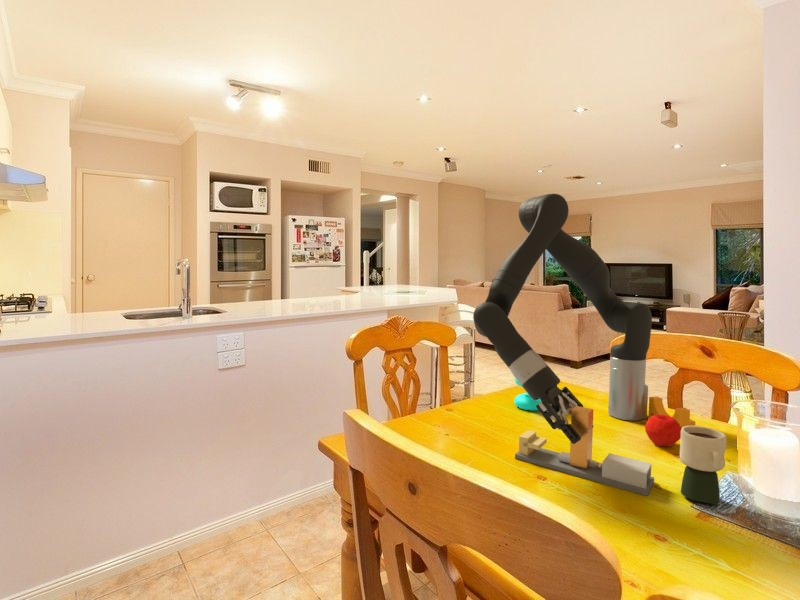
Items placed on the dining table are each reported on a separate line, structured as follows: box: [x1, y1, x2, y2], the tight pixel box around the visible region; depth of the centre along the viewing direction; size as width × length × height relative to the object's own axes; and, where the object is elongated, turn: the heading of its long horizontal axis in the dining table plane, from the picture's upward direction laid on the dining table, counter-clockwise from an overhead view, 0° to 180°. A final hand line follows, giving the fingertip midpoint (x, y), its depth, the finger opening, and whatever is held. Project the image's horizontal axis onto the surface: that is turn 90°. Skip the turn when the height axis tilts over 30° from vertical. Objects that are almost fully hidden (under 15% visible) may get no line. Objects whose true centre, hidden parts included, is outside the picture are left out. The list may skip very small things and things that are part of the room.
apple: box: [644, 415, 682, 447], centre depth 111 cm, size 8×8×7 cm
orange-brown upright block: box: [558, 406, 602, 469], centre depth 95 cm, size 16×4×12 cm, turn 51°
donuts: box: [513, 377, 541, 412], centre depth 140 cm, size 10×10×10 cm
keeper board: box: [514, 429, 655, 497], centre depth 98 cm, size 27×7×5 cm, turn 51°
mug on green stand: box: [679, 425, 727, 505], centre depth 85 cm, size 11×7×13 cm, turn 172°
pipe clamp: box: [647, 396, 696, 428], centre depth 124 cm, size 12×4×6 cm, turn 8°
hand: (584, 435), depth 97 cm, fingers open, 8 cm apart
